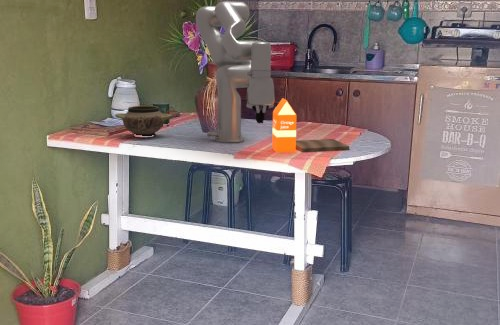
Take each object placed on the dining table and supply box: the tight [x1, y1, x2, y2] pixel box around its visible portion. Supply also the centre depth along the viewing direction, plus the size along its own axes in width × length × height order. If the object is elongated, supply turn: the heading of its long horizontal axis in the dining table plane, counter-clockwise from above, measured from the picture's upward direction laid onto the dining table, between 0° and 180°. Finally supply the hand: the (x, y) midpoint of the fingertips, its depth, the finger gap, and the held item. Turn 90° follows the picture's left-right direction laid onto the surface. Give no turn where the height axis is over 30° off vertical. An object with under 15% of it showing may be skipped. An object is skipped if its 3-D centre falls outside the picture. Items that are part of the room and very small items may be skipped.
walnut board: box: [296, 138, 350, 153], centre depth 241 cm, size 20×16×2 cm
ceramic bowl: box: [114, 105, 173, 136], centre depth 259 cm, size 24×18×15 cm
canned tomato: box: [152, 101, 171, 124], centre depth 288 cm, size 8×8×11 cm
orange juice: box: [271, 98, 297, 153], centre depth 233 cm, size 8×9×20 cm
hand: (259, 122), depth 230 cm, fingers closed
